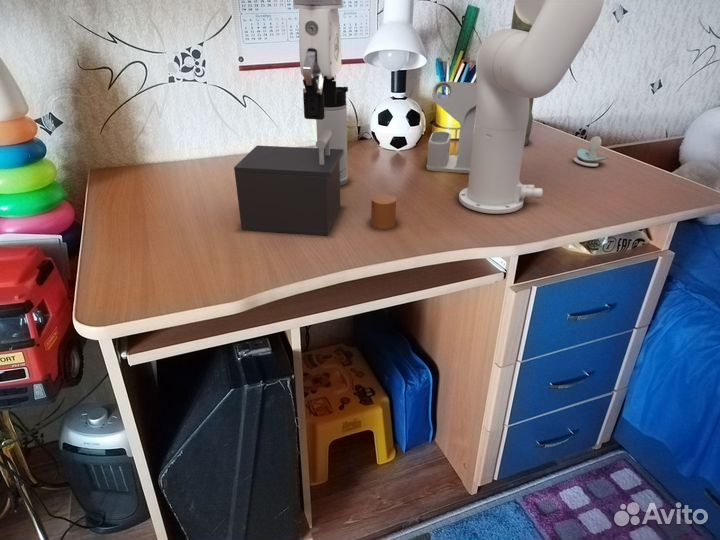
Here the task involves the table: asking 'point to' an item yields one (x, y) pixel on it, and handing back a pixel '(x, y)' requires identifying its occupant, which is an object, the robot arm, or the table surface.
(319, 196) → the dark storage box
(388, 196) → the orange cylinder
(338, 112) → the travel mug
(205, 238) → the table surface
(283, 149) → the lid
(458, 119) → the gray holder stand
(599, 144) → the pacifier
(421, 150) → the table surface
